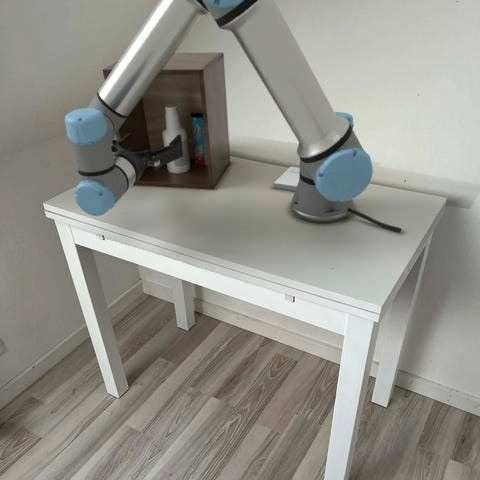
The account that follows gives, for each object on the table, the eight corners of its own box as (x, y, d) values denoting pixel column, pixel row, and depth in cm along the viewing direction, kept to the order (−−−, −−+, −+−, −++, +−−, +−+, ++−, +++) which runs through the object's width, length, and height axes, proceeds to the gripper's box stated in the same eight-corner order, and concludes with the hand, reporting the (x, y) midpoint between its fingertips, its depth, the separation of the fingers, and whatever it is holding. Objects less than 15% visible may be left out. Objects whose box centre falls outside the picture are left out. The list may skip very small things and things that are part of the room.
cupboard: (213, 189, 136) (203, 69, 117) (126, 184, 141) (102, 69, 122) (230, 163, 150) (223, 52, 131) (150, 159, 156) (132, 53, 136)
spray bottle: (187, 174, 142) (179, 109, 131) (164, 173, 143) (155, 109, 132) (193, 165, 147) (186, 102, 136) (171, 164, 148) (163, 102, 137)
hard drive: (273, 188, 134) (289, 171, 143) (301, 192, 132) (316, 174, 140) (273, 182, 133) (289, 165, 142) (301, 186, 130) (316, 169, 139)
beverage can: (199, 160, 153) (193, 110, 143) (217, 160, 151) (213, 110, 142) (193, 167, 148) (187, 116, 139) (212, 168, 147) (207, 116, 138)
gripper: (75, 185, 115) (113, 152, 131) (175, 190, 109) (202, 154, 125) (66, 153, 110) (107, 123, 126) (170, 157, 105) (199, 125, 120)
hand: (155, 138), depth 126 cm, fingers open, 13 cm apart
